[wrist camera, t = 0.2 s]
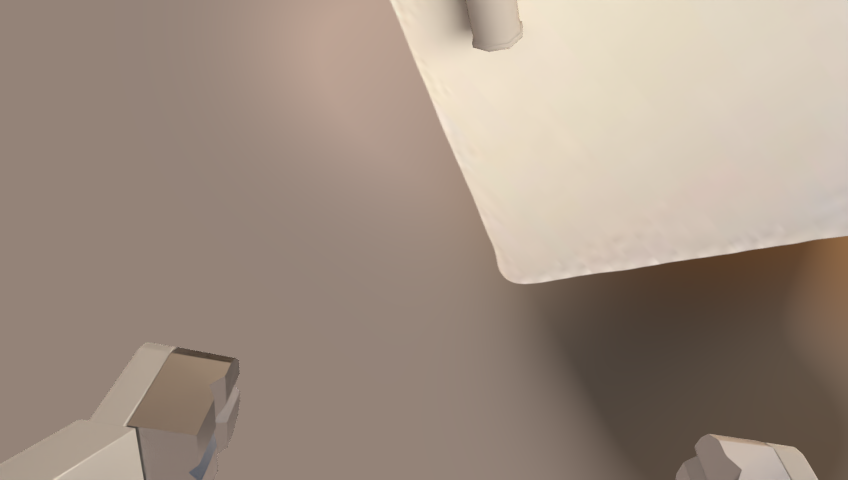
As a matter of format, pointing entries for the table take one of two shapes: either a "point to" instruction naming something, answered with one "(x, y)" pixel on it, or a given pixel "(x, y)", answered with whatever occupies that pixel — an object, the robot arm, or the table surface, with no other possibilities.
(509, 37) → the tube
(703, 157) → the table surface
